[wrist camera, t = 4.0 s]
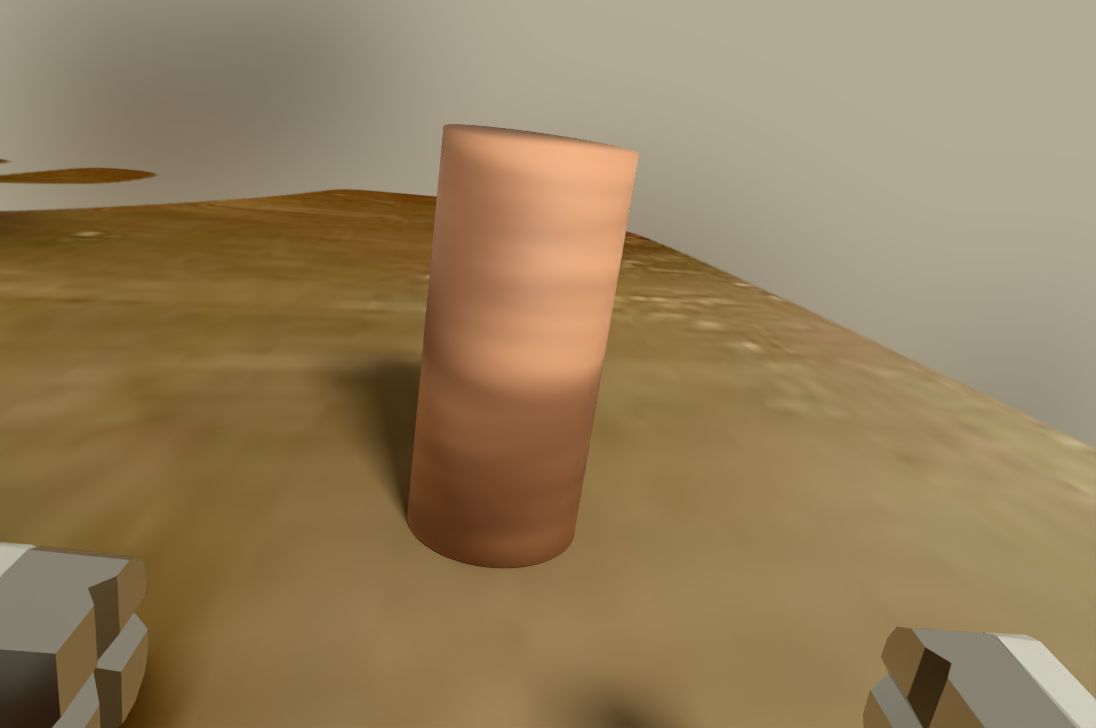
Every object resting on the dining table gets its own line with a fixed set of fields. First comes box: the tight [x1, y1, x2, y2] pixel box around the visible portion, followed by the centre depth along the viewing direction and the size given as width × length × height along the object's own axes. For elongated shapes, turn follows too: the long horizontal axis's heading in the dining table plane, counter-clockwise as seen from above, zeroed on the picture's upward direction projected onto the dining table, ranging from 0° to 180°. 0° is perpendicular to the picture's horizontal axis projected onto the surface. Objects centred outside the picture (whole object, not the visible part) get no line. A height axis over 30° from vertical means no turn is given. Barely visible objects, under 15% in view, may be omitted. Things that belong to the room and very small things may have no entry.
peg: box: [407, 124, 639, 568], centre depth 20 cm, size 4×4×10 cm
